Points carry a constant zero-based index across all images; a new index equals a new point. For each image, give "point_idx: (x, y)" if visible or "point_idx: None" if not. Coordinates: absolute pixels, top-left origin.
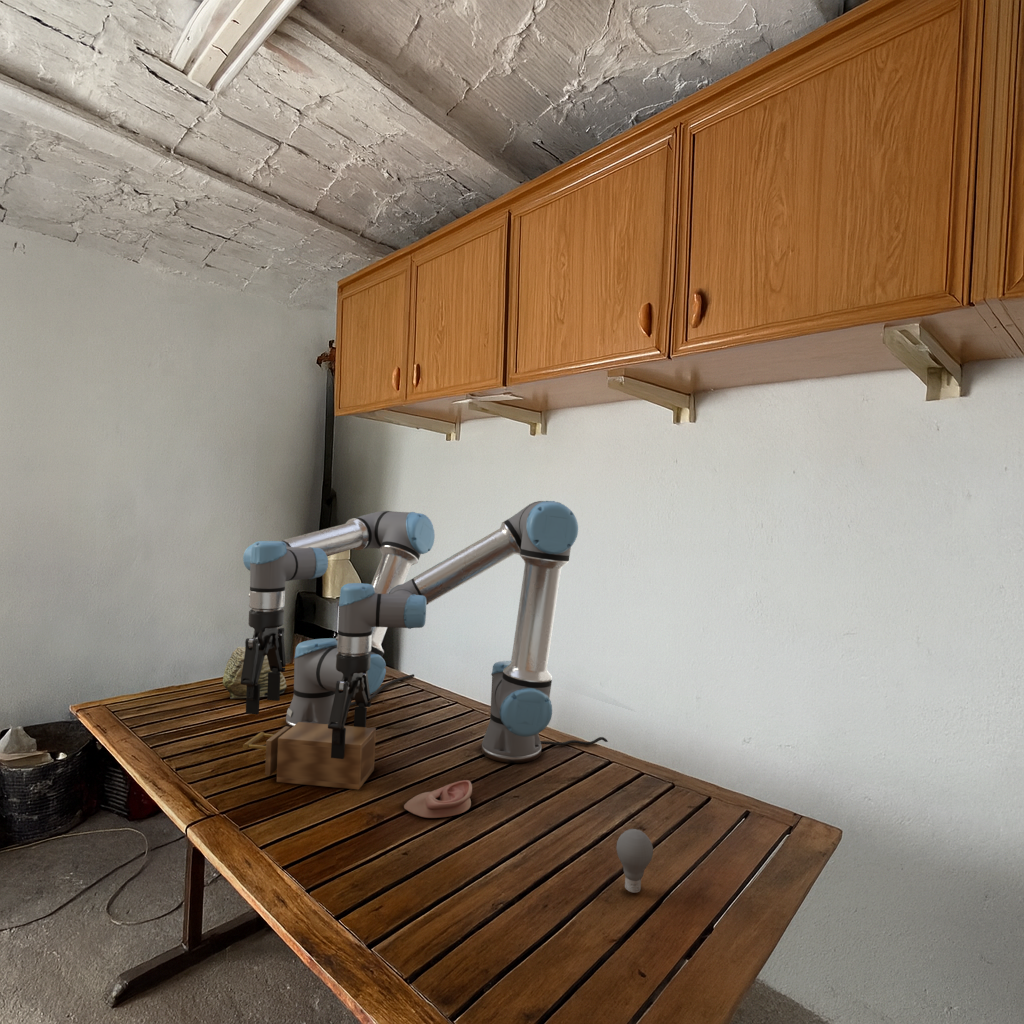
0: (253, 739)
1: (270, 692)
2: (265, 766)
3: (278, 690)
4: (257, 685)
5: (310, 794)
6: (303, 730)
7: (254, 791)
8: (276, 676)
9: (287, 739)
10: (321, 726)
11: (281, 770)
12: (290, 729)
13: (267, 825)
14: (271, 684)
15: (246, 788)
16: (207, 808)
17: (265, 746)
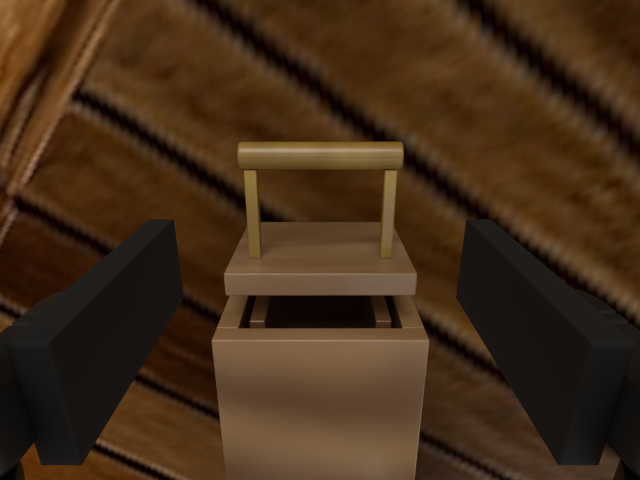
0: (301, 164)
1: (483, 268)
2: (244, 232)
3: (485, 339)
4: (41, 455)
5: (201, 372)
6: (325, 397)
7: None
8: (544, 411)
9: (215, 376)
10: (386, 442)
11: None
12: (325, 345)
13: None
14: (514, 308)
15: (178, 190)
16: (20, 144)
17: (252, 246)
